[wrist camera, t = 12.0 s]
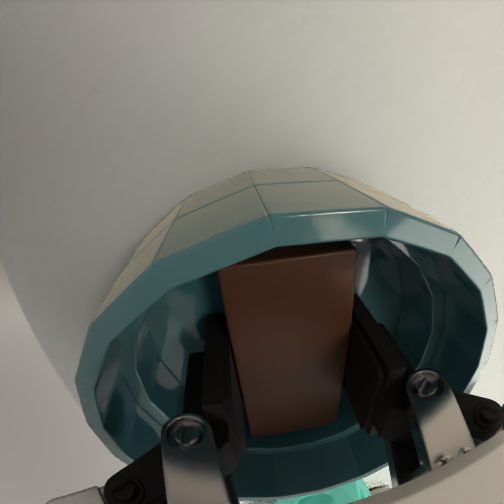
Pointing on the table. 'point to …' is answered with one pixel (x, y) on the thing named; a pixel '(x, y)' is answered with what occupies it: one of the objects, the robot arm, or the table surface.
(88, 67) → the table surface
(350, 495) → the decorative dice
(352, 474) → the bowl
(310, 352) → the small chocolate
